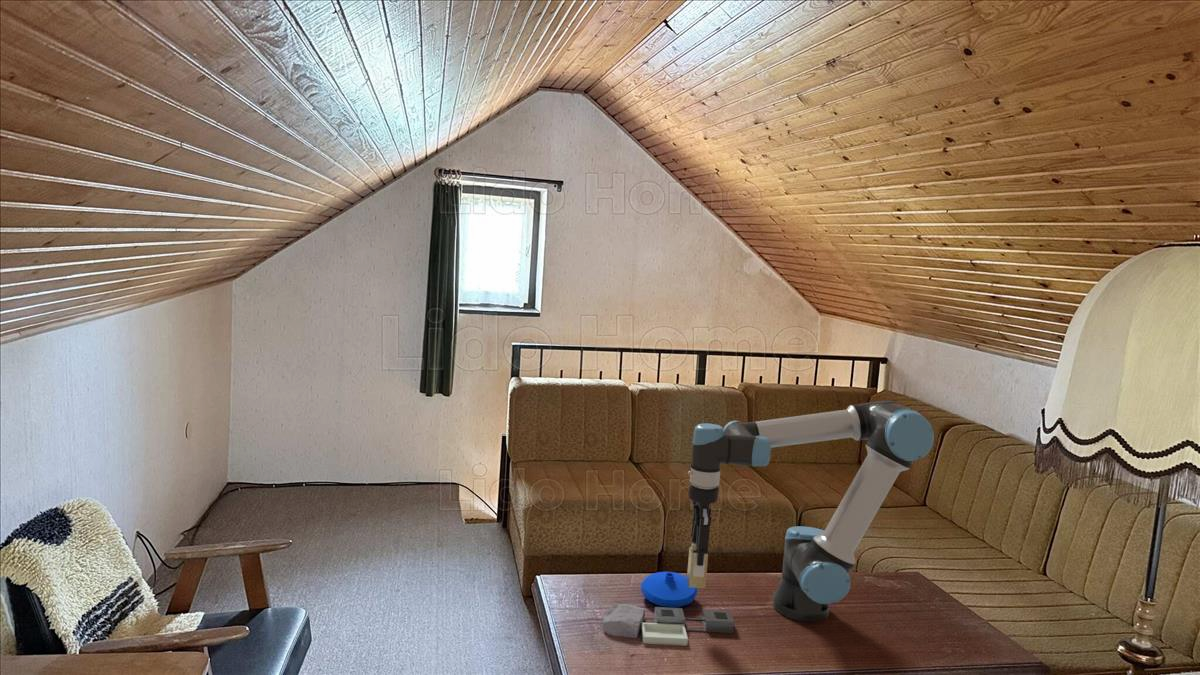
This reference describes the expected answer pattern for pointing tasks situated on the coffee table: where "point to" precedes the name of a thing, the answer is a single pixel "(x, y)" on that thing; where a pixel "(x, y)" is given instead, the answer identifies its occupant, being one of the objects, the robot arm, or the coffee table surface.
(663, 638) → the parts tray
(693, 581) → the wooden drawer with knob
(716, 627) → the rack rail
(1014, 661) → the coffee table surface
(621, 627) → the stone block
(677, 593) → the blue funnel disc
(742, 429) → the robot arm
